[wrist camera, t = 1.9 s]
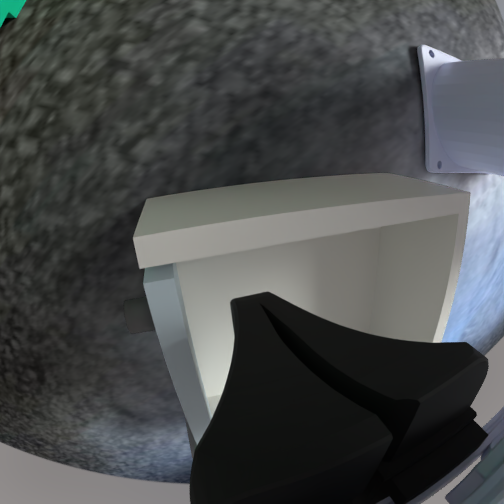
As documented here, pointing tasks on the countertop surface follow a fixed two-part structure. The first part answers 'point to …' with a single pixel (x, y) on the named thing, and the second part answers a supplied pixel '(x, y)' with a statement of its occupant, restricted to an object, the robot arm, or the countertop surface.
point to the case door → (172, 340)
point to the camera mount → (10, 9)
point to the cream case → (310, 256)
